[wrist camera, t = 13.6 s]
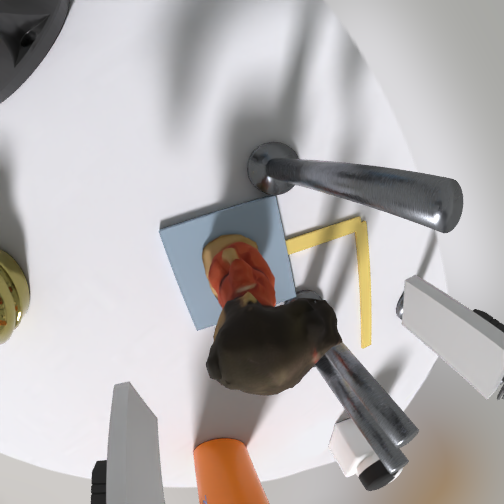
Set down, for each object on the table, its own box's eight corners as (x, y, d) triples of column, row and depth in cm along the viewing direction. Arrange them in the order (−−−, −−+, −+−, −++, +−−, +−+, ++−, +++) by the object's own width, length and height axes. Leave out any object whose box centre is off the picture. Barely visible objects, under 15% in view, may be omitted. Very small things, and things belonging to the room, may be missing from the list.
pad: (159, 229, 21) (158, 231, 20) (272, 194, 22) (275, 195, 21) (196, 326, 24) (197, 330, 23) (293, 293, 25) (296, 296, 25)
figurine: (229, 214, 21) (291, 281, 10) (282, 256, 23) (368, 340, 12) (178, 279, 22) (187, 394, 11) (233, 314, 24) (280, 426, 13)
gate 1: (242, 149, 20) (395, 143, 6) (291, 138, 21) (476, 133, 6) (285, 333, 27) (374, 469, 12) (323, 318, 27) (426, 435, 13)
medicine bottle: (327, 446, 37) (359, 501, 26) (334, 423, 35) (373, 483, 24) (364, 432, 39) (398, 480, 28) (374, 407, 37) (415, 459, 26)
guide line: (281, 241, 23) (283, 242, 23) (363, 214, 25) (365, 215, 24) (307, 372, 29) (308, 373, 29) (369, 343, 31) (371, 344, 30)
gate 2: (293, 343, 27) (379, 472, 13) (420, 283, 30) (522, 350, 15) (298, 369, 29) (372, 488, 14) (418, 310, 31) (508, 379, 17)
